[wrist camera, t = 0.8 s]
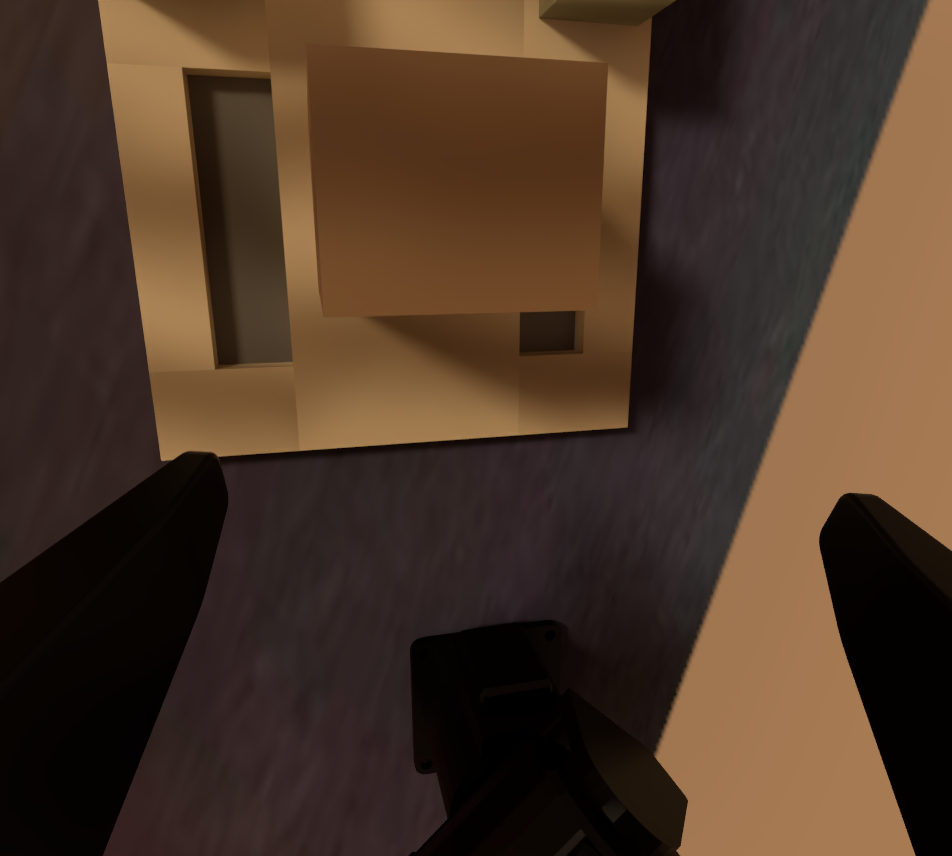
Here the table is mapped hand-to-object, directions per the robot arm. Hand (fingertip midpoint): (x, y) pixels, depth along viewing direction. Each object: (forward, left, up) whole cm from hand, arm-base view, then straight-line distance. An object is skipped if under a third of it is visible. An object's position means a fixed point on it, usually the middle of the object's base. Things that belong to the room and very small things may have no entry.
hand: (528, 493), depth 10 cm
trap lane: (+6, 0, -16) cm, 17 cm away
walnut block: (+5, 0, -14) cm, 15 cm away
